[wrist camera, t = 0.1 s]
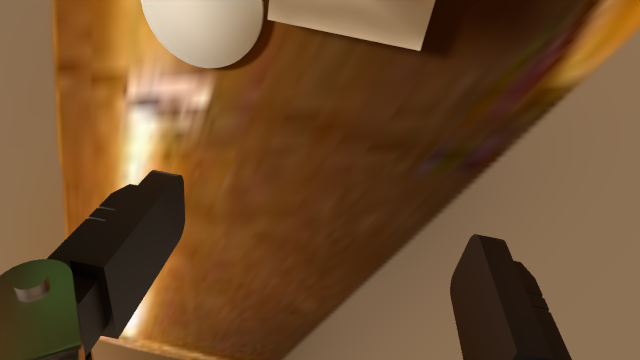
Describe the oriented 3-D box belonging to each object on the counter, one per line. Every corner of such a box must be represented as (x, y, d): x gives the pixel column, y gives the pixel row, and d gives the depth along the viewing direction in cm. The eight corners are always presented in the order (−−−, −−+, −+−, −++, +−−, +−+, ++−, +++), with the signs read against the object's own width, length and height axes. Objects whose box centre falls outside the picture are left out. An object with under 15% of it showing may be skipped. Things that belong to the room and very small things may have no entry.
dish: (141, -79, 34) (135, -79, 33) (269, -53, 34) (267, -52, 33) (149, 52, 40) (144, 55, 39) (258, 75, 39) (256, 78, 39)
